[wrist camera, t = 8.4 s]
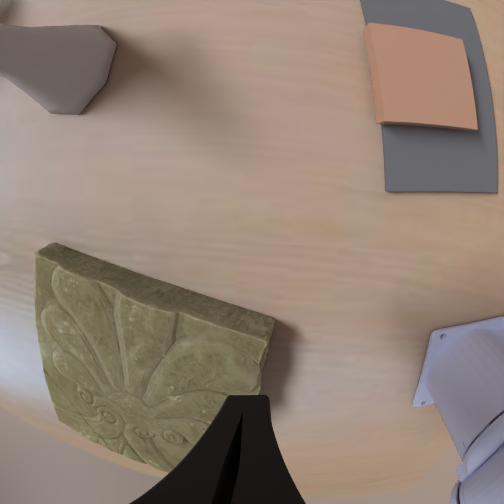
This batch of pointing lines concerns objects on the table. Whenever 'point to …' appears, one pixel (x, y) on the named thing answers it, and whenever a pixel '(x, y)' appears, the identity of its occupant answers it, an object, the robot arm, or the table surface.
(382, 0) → the mat
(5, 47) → the flask
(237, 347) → the decorative tile
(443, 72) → the tile
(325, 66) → the table surface
